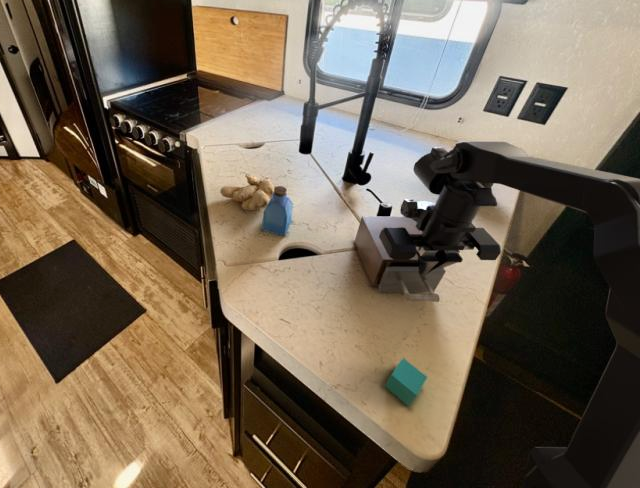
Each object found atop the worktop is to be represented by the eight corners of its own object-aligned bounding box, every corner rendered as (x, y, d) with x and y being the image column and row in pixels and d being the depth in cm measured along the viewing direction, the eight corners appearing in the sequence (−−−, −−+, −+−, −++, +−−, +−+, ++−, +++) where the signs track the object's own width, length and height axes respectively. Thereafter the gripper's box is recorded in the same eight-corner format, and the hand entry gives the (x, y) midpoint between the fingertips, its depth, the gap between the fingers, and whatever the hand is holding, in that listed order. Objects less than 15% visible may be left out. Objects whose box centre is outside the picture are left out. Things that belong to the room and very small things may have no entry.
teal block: (419, 388, 51) (427, 376, 49) (408, 406, 49) (416, 395, 47) (395, 369, 54) (402, 357, 52) (384, 386, 52) (391, 374, 49)
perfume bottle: (262, 229, 83) (264, 193, 76) (269, 215, 88) (272, 180, 81) (284, 236, 81) (289, 199, 74) (290, 221, 86) (295, 185, 79)
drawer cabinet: (429, 286, 68) (444, 259, 63) (372, 286, 68) (382, 259, 63) (403, 242, 79) (414, 216, 74) (354, 241, 79) (361, 216, 74)
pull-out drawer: (445, 312, 62) (459, 291, 58) (388, 312, 62) (398, 291, 58) (407, 249, 76) (417, 228, 72) (361, 249, 76) (368, 228, 72)
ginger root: (294, 199, 92) (291, 179, 86) (253, 230, 86) (247, 210, 81) (260, 177, 102) (255, 158, 97) (221, 204, 97) (215, 185, 91)
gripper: (479, 184, 58) (447, 244, 67) (379, 183, 58) (360, 243, 67) (524, 224, 49) (479, 287, 58) (405, 223, 49) (379, 286, 58)
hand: (421, 273), depth 60 cm, fingers closed
